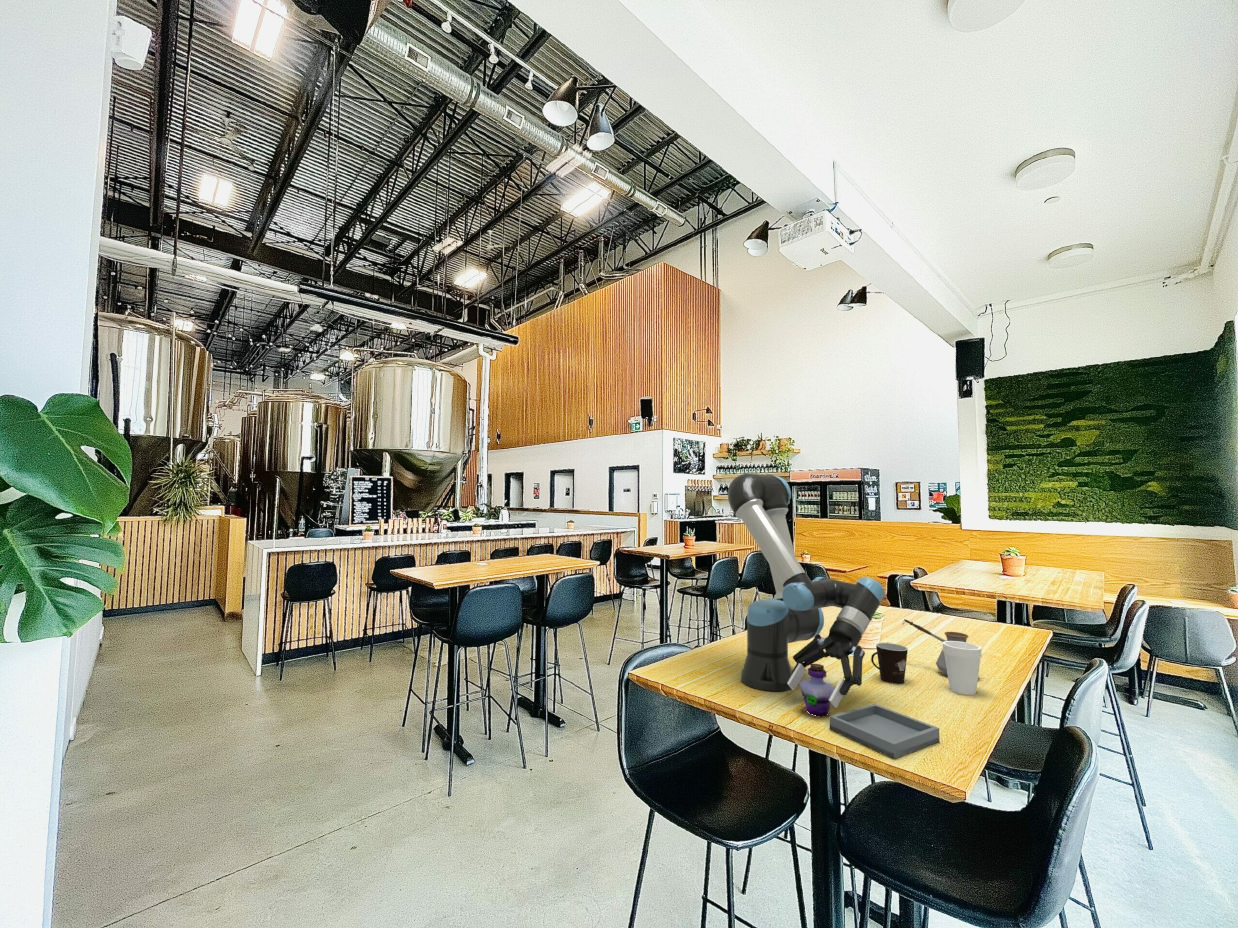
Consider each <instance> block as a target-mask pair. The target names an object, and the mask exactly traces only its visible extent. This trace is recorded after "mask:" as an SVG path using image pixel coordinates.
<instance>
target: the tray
mask: <svg viewBox="0 0 1238 928" xmlns="http://www.w3.org/2000/svg"><path fill="white" fill-rule="evenodd" d="M828 716H829V730H830V729H831V730H830V731H832V730H833V732H835V733H836V734H839V735H841V736H844V737H845V736H846V737H845V738H847V737H849V738H848V739H850V738H851V739H850V740H852V739H853V740H852V741H854V740H855V741H854V742H856V741H857V743H858V742H859V743H858V744H860V743H861V745H863V746H865V747H868V748H869V749H871V750H874V751H876V752H878V753H880V752H881V753H880V754H882V753H883V754H882V755H884V754H885V756H886V755H887V757H889V758H891V759H892V760H895V759H897V758H900V757H903V755H904V756H905V755H906V756H907V755H909V754H911V753H915V752H916V751H919V750H922V749H925V748H927V747H929V746H932V745H935V744H937V743H940V742H941V741H940V740H941V739H940V727H937V726H934V725H933V724H930V723H927V722H924V721H922V720H919V719H916V718H914V717H911V716H908V715H906V714H903V713H901V712H898V711H896V710H893V709H890V708H888V707H885V706H882V705H879V704H877V703H870V704H868V705H865V706H860V707H857V708H853V709H850V710H846V711H843V712H839V713H836V714H833V715H828Z"/></svg>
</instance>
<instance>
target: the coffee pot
mask: <svg viewBox="0 0 1238 928" xmlns="http://www.w3.org/2000/svg"><path fill="white" fill-rule="evenodd" d="M905 622H906V623H907V624H909V625H910V626H913V628H915V629H917V630H919V631H920V632H923V633H925V634H927V635H929V636H931V637H933V638H935V639H936V640H938V641H940V642H942V643H943V642H944V641H959V642H966V643H967V639H968V638H969V637H970V636H969V634H966V633H962V632H959V631H958V632H957V631H945V632H944V636H945V638H946V639H944V638H942V637H940V636H938V635H936V634H934V633H932V632H930V631H929V630H927V629H925V628H924V627H923V626H921V625H919V624H916V623H914V622H913V621H909V620H908V619H905V618H904V619H903V621H902V623H901V625H904V624H905ZM935 665H936V667H937V669H938V670H939V671H940V672H941V673H942V674H943V675H944V676H946V677H948V674H947V668H946V661H945V655H944V652H943V648H942V650H941V652H940V653H939V655H938V658H937V660H936V662H935Z"/></svg>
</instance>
